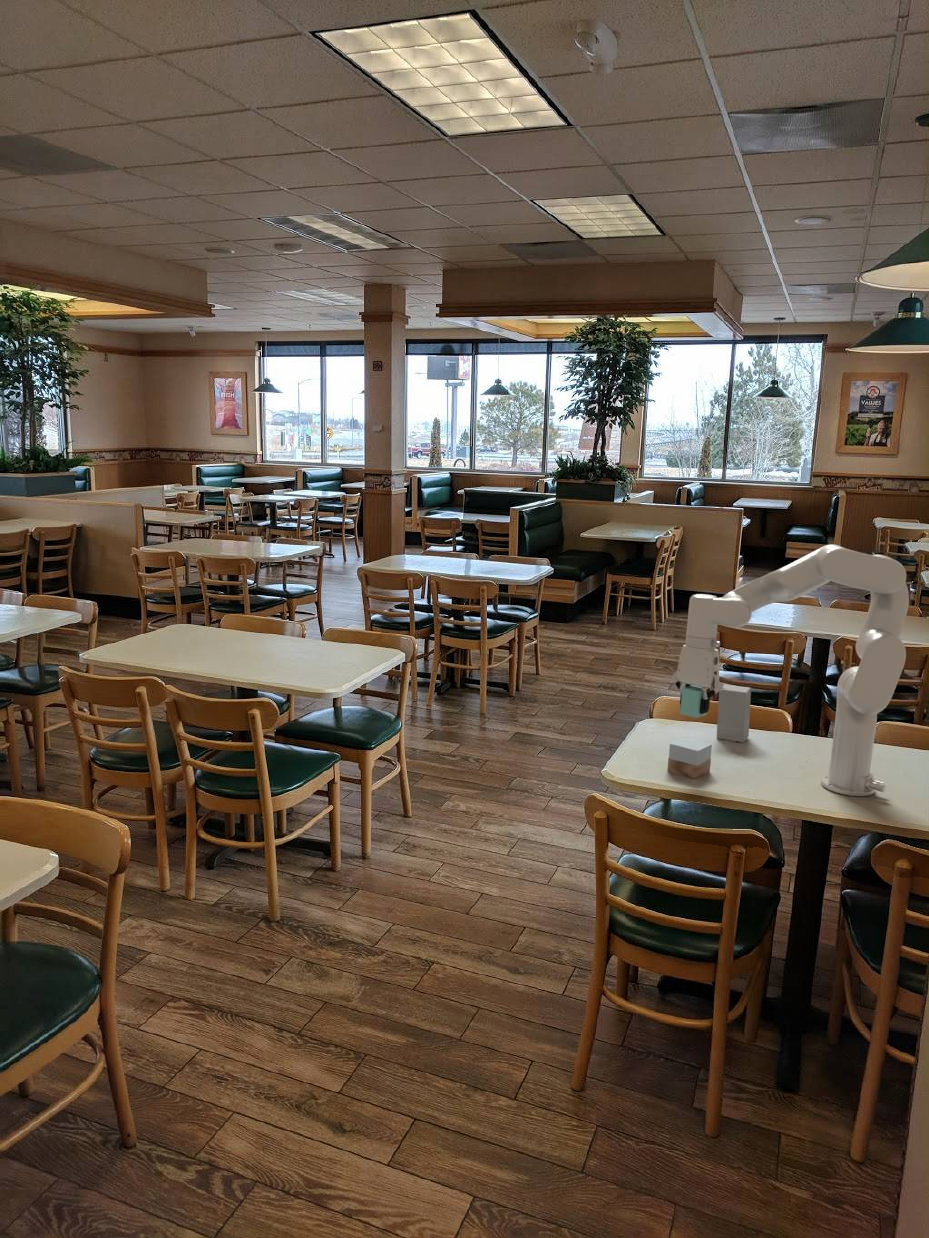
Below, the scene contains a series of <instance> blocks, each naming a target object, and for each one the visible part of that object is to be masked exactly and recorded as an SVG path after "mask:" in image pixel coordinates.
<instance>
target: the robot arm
mask: <svg viewBox="0 0 929 1238" xmlns="http://www.w3.org/2000/svg"><path fill="white" fill-rule="evenodd" d="M831 582H832V583H835V584H839V585H842V586H846V587H851V588H854V589H858V590H862V591H863V590H864V591H868V592H869V593H870V602H869V603H870V604H869V608H868V612H867V614H866V616H865V619H864V622H863V625H862V628H861V629H860V633H859V635H858V637H857V640H856V642H855V652H856V654H857V656H858V658H859V659H860V663H859V665H858V666H852V667H849V668H847V669H845V670H844V671H843V672H842V674H840V676H839V679H838V681H837V687H836V710H835V711H836V712H835V719H834V729H833V736H832V738H833V739H832V744H831V745H832V746H831V753H830V762H829V767H828V768H829V769H828V775H824V776H823V777H822V778H821V782H820V784H821V785H822V786H823V787H824V788H825V789H826V790H829V791H831V792H834V793H837V794H841V795H844V796H851V797H868V796H871V795H873V794H874V793H875V791H877V792H880V793H884V792H886V784H885V782H883V781H880V780H875V778H874V773H872V772H871V766H872V758H873V753H874V752H873V750H874V742H875V735H876V730H877V729H876V728H877V719H878V713H881V712H883V711H884V709H886V708H887V707H888V705H889V704H890V702H891V699H892V698H893V695H894V694H895V690H896V688H897V685H898V683H899V680H900V677H901V675H902V673H903V670H904V666H905V663H906V659H907V650H906V647H905V644H904V642H903V641H902V640H901V639H900V636H901V634H902V633H901V632H902V630H903V627H904V624H905V620H906V617H907V613H908V611H909V605H910V593H909V588H908V584H907V571H906V568H905V567H904V566H903V564H902V563H901V562H900V561H898V560H897V559H893V558H892V557H889V556H887V555H884V554H879V553H878V554H868V553H865V552H860V551H857V550H852V549H849V548H845V547H843V546H841V545H838V544H832V543H831V544H827V545H823V546H822V547H819V548H817V549H815V550H813V551H811V552H810V553H808V554H806V555H804V556H802V557H800V558H798V559H797V560H794V561H793V562H790V563H789V564H787V565H784V566H782V567H780V568H778V569H776V570H774V571H771V572H769V573H766V574H765V575H763V576H759V577H757V578H755V579H753V580H751V581H749V582H747V583H745V584H743V585H741V586H739V587H737V588H735V589H733V590H731V591H729V592H728V593H726V594H724V595H723V596H721V597H720V598H719V597H717V595H712V594H708V593H706V594H705V593H696V594H692V595H691V596H690V597H689V604H688V612H687V613H688V614H687V624H686V633H685V634H686V636H685V644H683V645H682V648H681V651H680V655H679V658H678V664H677V670H676V671H675V672H674V673H673V674H672V675H671V676H670V679H671V681H672V682H673V684H674V685H675V686H676V688H677V690H678V692H679V694H680V696H679V697H680V699H679V705H680V707H679V708H681V698H682V688H684V687H687V686H691V685H694V686H698V687H701V688H702V694H703V698H702V699H701V703H700V714H704V713H707V714H708V712H709V709H710V704H711V703H710V702H711V699H712V698H713V697H714V696H715V695H717V694H719V692H720V691H722V690H723V685H722V683H721V682H720V654H719V652H720V651H719V649H717V648H718V647H720V646H721V641H718V640H717V639H718V638H717V633H718V625H719V626H723V627H729V628H736V629H737V628H743V627H744V626H746V625H748V624H749V622H750V621H751V618H752V616H753V614H752V613H753V612H755V611H758V610H759V609H761V608H763V607H766V606H769V605H772V604H775V603H780V602H781V603H782V602H789V601H792V600H796V599H798V598H800V597H803V596H804V595H807V594H808V593H811V592H812V591H814V590H816V589H818V588H821V587H822V586H824V585H826V584H828V583H831ZM712 687H714V688H713V689H712Z"/></svg>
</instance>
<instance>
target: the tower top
mask: <svg viewBox="0 0 929 1238" xmlns="http://www.w3.org/2000/svg"><path fill="white" fill-rule="evenodd" d="M712 746H713V744H711V743H709V742H708V743H707V742H704V741H701V740H697V739H692V738H689V737H682V738H680V739H677V740H675V741H673V742H671V743H669V749H668V750H669V752H668V758H670V759H673V760H677V761H681V762H684V763H688V764H692V765H695V766H698V765H699V764H701V763H703V762H705V761H707V760H709V759H711V758H712ZM711 760H712V759H711Z"/></svg>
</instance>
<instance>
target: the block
mask: <svg viewBox="0 0 929 1238" xmlns="http://www.w3.org/2000/svg"><path fill="white" fill-rule="evenodd" d="M702 698H703V694H702V688H701V687H698V686H694V685H690V686H687V687H684V688H682V698H681V708H680V707H679V708H680V709H679V711H680V712H679V714H680V715H682V716H687V717H690V718H693V719H694V718H695V719H698V718H702V717H704V716H707V715H708V712H707V713H704V714H700V703H701V699H702Z"/></svg>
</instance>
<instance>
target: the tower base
mask: <svg viewBox="0 0 929 1238" xmlns="http://www.w3.org/2000/svg"><path fill="white" fill-rule="evenodd" d="M667 759H668V761H667V769H666V770H667V772H669V771H671V772H670V773H672V772H673V774H675V775H679V776H682V777H685V778H689V779H691V780H696V779H698V778H701V777H703V776H705V775H707V774H710V772H711V763H712V761H711V760H712V759H709V760H707V761H705V762H703V763H701V764H699V765H698V766H695V765H692V764H688V763H684V762H681V761H677V760H673V759H670V758H669V757H668V758H667Z"/></svg>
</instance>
